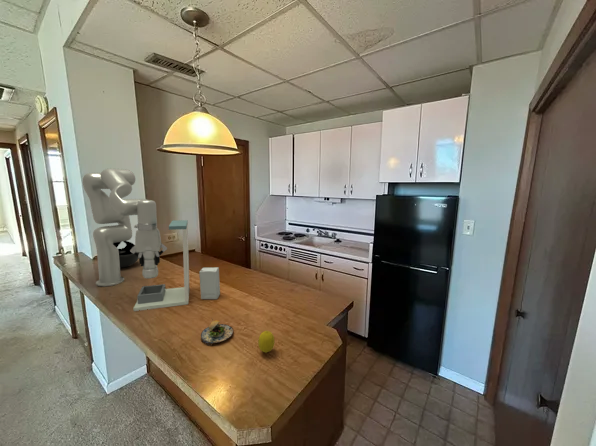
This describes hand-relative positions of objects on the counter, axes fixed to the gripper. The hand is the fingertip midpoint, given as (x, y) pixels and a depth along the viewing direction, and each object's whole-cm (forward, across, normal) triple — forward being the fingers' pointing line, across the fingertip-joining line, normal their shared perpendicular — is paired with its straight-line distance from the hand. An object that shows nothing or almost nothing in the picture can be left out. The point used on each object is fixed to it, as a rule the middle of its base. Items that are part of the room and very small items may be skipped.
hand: (149, 264), depth 117 cm
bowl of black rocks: (+17, -25, +59) cm, 66 cm away
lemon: (+19, +42, -54) cm, 71 cm away
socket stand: (+18, +5, 0) cm, 19 cm away
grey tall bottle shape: (+7, 0, 0) cm, 7 cm away
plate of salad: (+19, +27, -39) cm, 51 cm away
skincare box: (+18, +26, -4) cm, 32 cm away
